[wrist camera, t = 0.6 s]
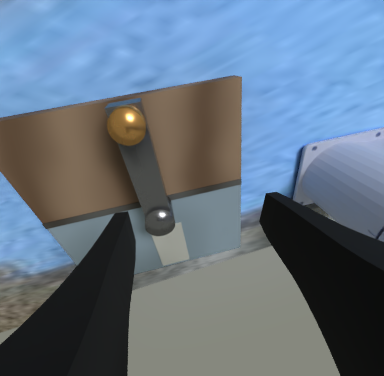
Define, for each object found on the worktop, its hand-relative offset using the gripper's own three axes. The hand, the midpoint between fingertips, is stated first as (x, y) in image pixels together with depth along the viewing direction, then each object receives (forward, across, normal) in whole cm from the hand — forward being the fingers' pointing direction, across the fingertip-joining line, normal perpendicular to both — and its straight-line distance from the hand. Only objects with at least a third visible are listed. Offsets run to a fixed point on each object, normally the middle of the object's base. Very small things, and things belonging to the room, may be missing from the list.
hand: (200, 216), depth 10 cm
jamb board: (+8, +4, 0) cm, 9 cm away
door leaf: (+9, +3, +9) cm, 13 cm away
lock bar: (+7, +3, 0) cm, 7 cm away
